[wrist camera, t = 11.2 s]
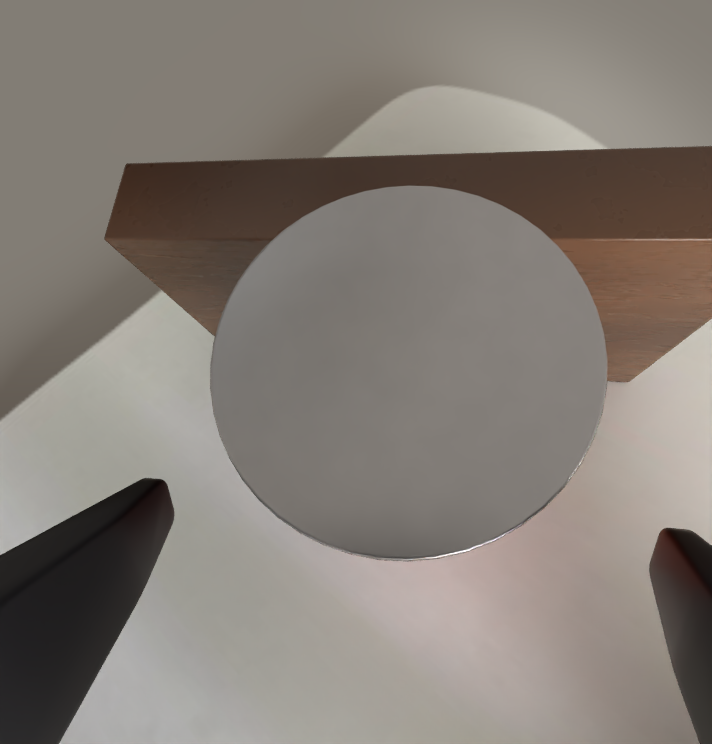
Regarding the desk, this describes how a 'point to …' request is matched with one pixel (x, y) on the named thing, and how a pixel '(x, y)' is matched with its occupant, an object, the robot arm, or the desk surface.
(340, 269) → the can
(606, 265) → the wooden board
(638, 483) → the desk surface
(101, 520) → the robot arm
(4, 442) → the desk surface
